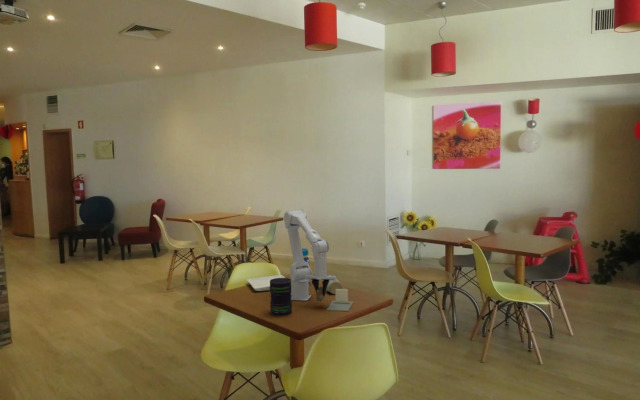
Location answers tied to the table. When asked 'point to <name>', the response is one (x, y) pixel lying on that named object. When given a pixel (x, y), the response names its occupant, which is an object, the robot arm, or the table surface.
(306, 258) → the beverage bottle
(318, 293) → the bar
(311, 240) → the robot arm
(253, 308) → the table surface
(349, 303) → the mat
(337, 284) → the ceramic mug
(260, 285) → the salad plate
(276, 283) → the storage jar
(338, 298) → the tile
